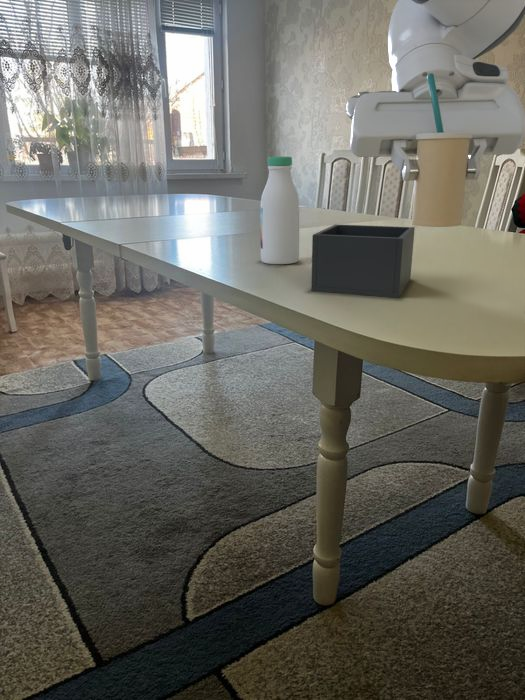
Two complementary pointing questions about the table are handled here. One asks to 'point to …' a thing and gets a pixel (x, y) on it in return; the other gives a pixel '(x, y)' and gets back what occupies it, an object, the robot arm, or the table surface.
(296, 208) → the milk bottle
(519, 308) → the table surface
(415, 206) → the takeaway cup
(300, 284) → the table surface
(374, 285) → the bin
